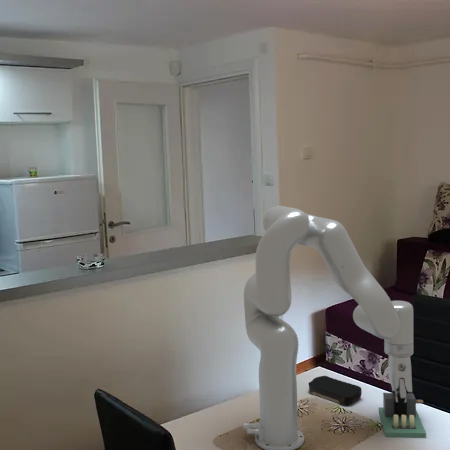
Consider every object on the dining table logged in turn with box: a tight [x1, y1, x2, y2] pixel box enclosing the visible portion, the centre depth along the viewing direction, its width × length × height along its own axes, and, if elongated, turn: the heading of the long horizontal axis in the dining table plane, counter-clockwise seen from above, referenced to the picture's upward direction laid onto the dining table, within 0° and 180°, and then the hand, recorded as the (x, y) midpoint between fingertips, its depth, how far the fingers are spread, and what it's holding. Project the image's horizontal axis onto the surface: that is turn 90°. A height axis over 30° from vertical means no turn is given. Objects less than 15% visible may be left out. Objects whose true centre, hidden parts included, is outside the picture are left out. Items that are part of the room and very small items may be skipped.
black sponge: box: [308, 375, 363, 406], centre depth 180 cm, size 16×8×4 cm, turn 41°
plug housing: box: [382, 392, 424, 417], centre depth 163 cm, size 10×4×5 cm, turn 82°
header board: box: [378, 406, 427, 439], centre depth 160 cm, size 10×15×4 cm, turn 172°
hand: (399, 411), depth 163 cm, fingers closed on plug housing, 4 cm apart
